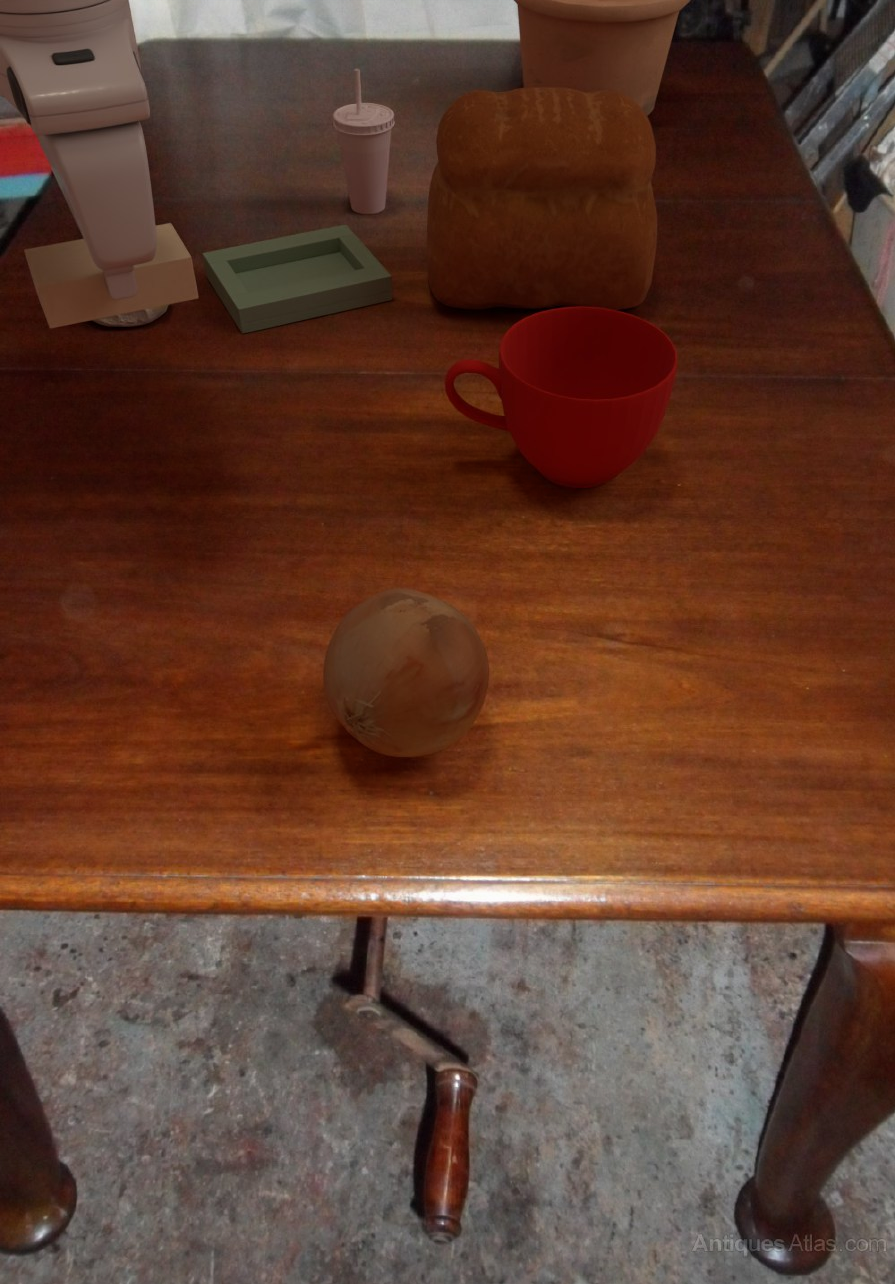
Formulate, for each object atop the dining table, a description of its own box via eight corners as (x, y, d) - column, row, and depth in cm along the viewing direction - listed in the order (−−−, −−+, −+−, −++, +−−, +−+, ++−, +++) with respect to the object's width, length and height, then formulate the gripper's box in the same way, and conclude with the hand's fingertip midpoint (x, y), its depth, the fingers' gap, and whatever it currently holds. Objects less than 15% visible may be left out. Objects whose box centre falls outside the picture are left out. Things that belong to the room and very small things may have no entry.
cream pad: (50, 329, 70) (37, 286, 68) (36, 291, 73) (23, 249, 71) (198, 298, 73) (191, 256, 71) (178, 263, 76) (170, 222, 74)
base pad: (242, 334, 98) (238, 309, 96) (206, 276, 105) (202, 252, 103) (392, 300, 102) (391, 276, 100) (347, 247, 110) (346, 223, 108)
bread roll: (176, 280, 105) (168, 241, 102) (170, 327, 99) (162, 287, 96) (90, 285, 104) (80, 246, 101) (79, 332, 98) (68, 292, 95)
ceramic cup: (447, 413, 89) (447, 303, 82) (650, 417, 89) (668, 307, 81) (442, 512, 80) (441, 398, 73) (667, 516, 80) (689, 402, 72)
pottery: (560, 63, 147) (568, -57, 137) (704, 97, 139) (724, -29, 128) (470, 111, 135) (472, -17, 125) (622, 152, 126) (637, 17, 116)
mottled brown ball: (301, 764, 64) (283, 649, 56) (368, 651, 70) (360, 535, 63) (453, 812, 61) (453, 698, 54) (508, 690, 68) (515, 575, 60)
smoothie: (326, 207, 116) (315, 68, 106) (369, 189, 119) (361, 52, 109) (367, 225, 113) (360, 84, 103) (409, 206, 116) (406, 67, 106)
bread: (428, 238, 111) (426, 63, 99) (633, 238, 111) (656, 63, 99) (426, 324, 99) (423, 136, 87) (656, 324, 99) (685, 137, 87)
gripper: (-22, 2, 67) (37, 216, 77) (32, 115, 55) (94, 354, 65) (79, -10, 69) (124, 201, 79) (153, 98, 56) (196, 332, 66)
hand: (111, 271), depth 72 cm, fingers closed on cream pad, 5 cm apart
